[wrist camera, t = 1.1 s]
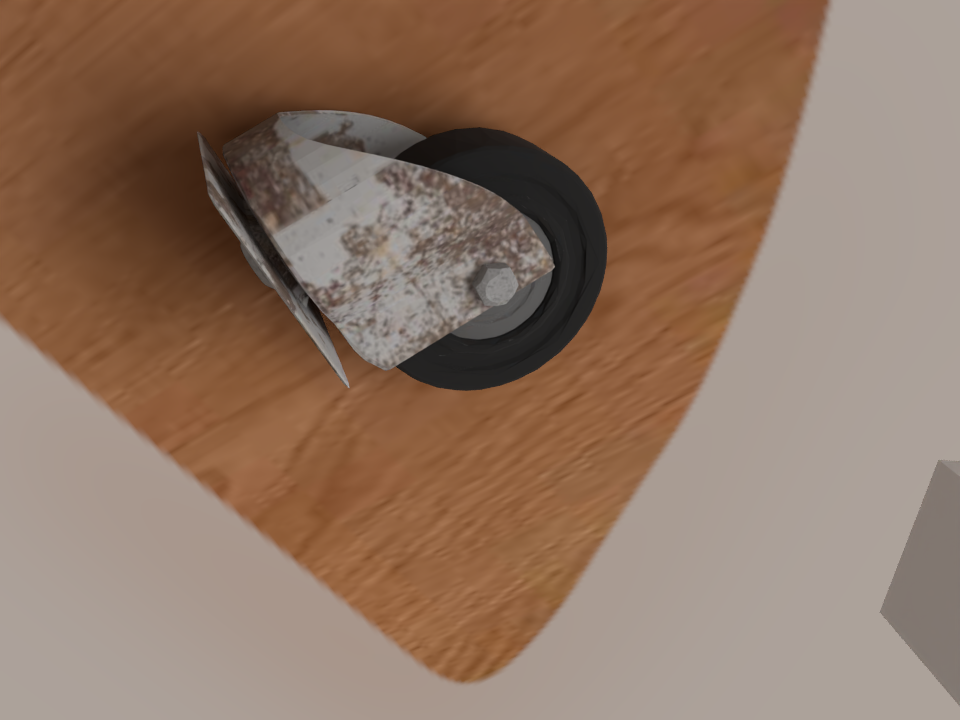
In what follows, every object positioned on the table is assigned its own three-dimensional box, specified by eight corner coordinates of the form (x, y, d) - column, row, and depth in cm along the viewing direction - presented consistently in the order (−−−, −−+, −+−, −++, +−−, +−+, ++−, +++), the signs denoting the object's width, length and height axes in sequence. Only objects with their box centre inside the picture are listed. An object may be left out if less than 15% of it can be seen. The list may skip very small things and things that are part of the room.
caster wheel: (580, 259, 31) (361, 393, 30) (461, -26, 24) (179, 138, 24) (672, 336, 25) (407, 500, 25) (549, -6, 19) (187, 207, 18)
